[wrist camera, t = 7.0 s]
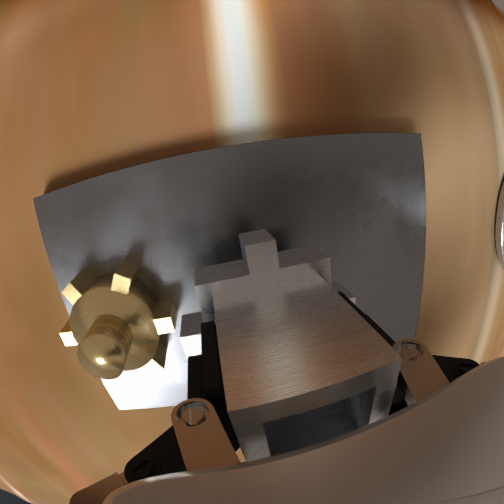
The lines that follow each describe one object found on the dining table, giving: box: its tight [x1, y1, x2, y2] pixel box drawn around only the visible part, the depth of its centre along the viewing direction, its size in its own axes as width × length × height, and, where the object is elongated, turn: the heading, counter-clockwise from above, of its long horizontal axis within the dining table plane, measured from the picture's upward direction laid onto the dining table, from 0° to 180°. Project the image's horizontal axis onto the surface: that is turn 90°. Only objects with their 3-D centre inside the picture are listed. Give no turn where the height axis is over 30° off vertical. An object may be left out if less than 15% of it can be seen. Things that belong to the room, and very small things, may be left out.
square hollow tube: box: [180, 229, 402, 462], centre depth 10 cm, size 8×8×8 cm
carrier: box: [33, 133, 426, 410], centre depth 15 cm, size 24×16×6 cm, turn 99°
